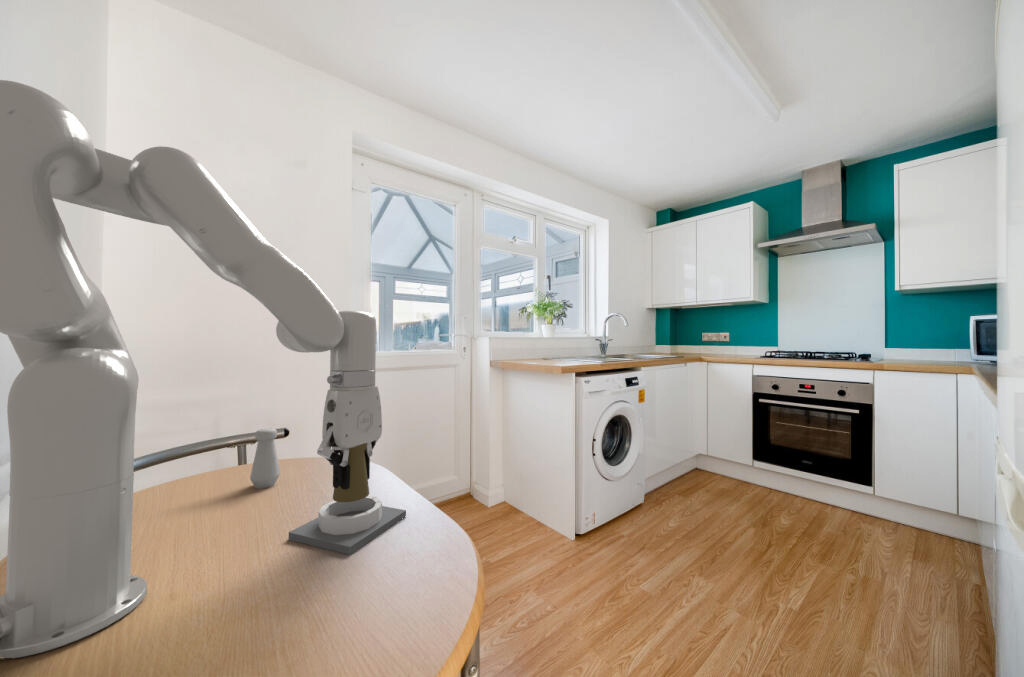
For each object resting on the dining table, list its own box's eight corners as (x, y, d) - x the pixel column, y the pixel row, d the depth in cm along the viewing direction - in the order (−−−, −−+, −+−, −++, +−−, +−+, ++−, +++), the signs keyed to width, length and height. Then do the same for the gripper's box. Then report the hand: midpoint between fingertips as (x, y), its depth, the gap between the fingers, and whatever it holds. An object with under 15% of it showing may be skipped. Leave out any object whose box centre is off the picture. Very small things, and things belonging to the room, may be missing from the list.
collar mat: (350, 554, 57) (350, 530, 57) (288, 539, 62) (288, 517, 62) (405, 516, 70) (406, 496, 70) (351, 506, 75) (352, 487, 75)
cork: (375, 489, 69) (376, 429, 69) (358, 503, 63) (359, 437, 63) (344, 488, 70) (345, 429, 70) (325, 501, 64) (326, 436, 64)
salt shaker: (284, 484, 87) (285, 428, 88) (257, 491, 82) (259, 432, 83) (272, 479, 90) (273, 425, 91) (245, 486, 85) (246, 429, 86)
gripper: (331, 385, 58) (329, 504, 57) (399, 377, 73) (398, 471, 73) (296, 383, 60) (294, 498, 60) (369, 376, 76) (368, 467, 75)
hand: (351, 482), depth 66 cm, fingers closed on cork, 4 cm apart
